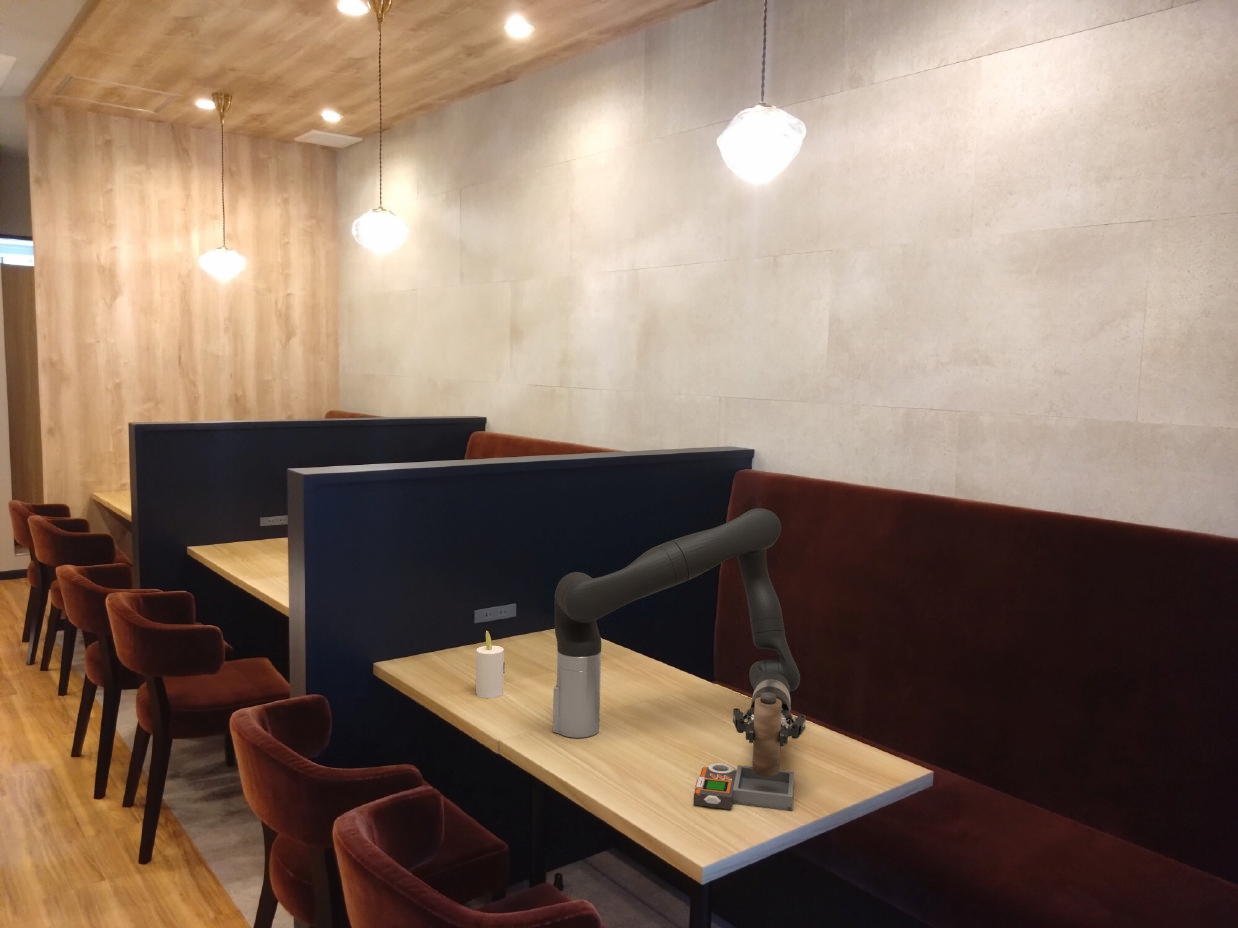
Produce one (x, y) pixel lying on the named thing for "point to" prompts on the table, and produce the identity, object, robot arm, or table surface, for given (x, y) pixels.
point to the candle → (489, 670)
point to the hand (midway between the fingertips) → (766, 739)
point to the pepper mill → (767, 734)
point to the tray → (763, 789)
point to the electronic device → (715, 786)
